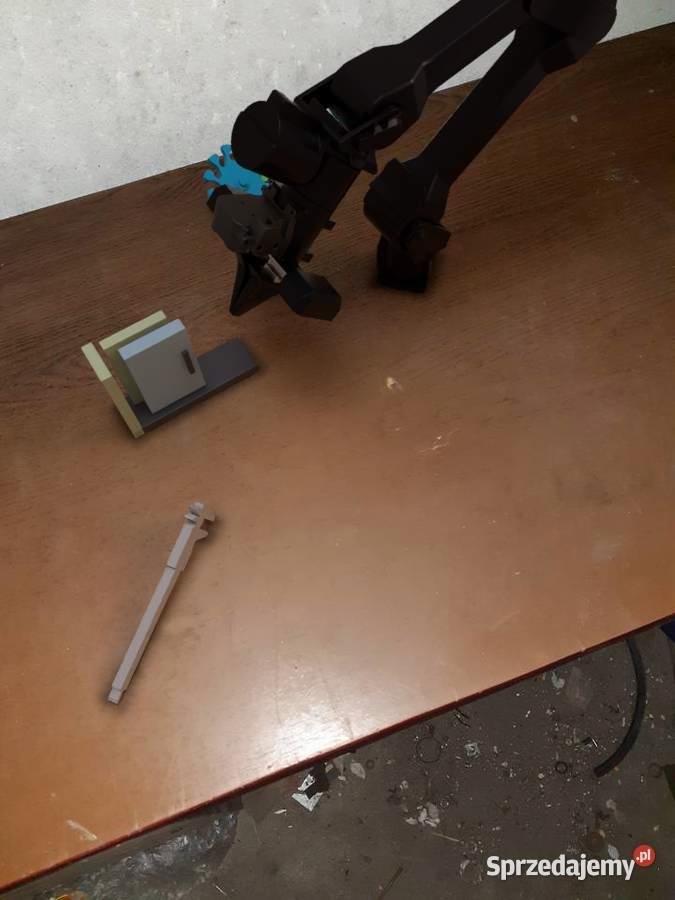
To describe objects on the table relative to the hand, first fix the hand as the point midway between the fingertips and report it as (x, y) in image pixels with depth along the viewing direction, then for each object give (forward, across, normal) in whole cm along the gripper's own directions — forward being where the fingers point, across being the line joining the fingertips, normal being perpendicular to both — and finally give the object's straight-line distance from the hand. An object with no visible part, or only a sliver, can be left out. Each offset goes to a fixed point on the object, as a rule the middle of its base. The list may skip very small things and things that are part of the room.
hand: (233, 314), depth 76 cm
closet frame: (+11, 0, +1) cm, 11 cm away
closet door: (+12, +1, -2) cm, 12 cm away
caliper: (+21, +22, -9) cm, 32 cm away
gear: (-3, -22, +16) cm, 27 cm away
